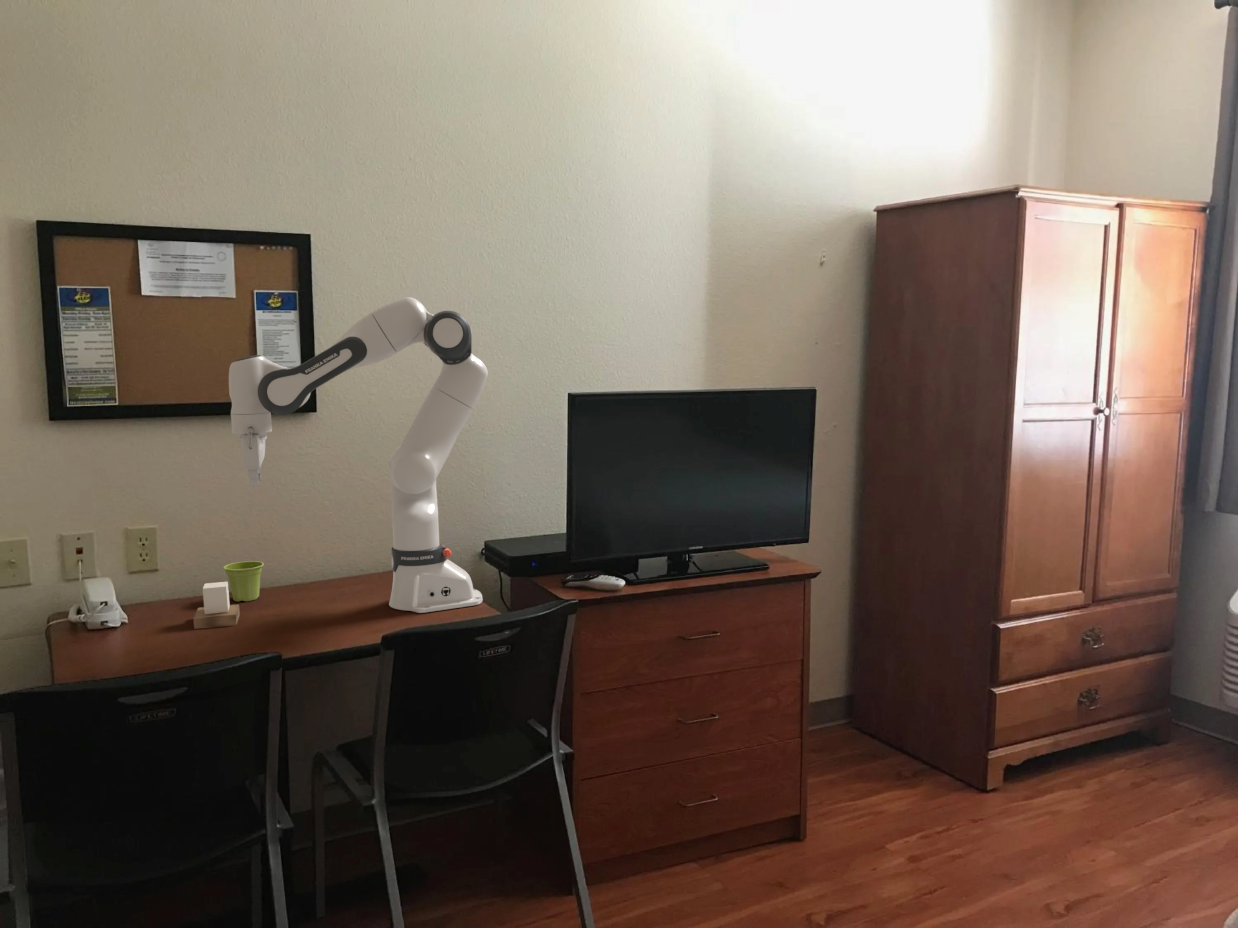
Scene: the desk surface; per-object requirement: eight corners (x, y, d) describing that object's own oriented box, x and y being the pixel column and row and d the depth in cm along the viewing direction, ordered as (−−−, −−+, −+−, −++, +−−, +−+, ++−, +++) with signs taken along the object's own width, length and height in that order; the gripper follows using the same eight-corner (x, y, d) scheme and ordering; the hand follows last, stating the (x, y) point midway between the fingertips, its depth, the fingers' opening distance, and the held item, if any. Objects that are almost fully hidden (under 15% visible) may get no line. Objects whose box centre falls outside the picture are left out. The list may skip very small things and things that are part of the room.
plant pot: (218, 599, 255) (216, 566, 253) (253, 592, 262) (251, 559, 260) (238, 606, 249) (235, 571, 247) (273, 597, 256) (270, 564, 254)
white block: (229, 606, 239) (227, 581, 238) (228, 611, 234) (226, 586, 233) (207, 608, 237) (204, 583, 237) (204, 614, 233) (202, 588, 232)
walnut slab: (239, 616, 241) (238, 604, 241) (236, 627, 233) (235, 614, 232) (199, 620, 239) (198, 607, 238) (194, 631, 230) (193, 618, 230)
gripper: (263, 428, 229) (268, 489, 231) (268, 421, 248) (271, 477, 250) (233, 430, 227) (238, 491, 229) (240, 422, 247) (244, 478, 249)
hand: (255, 483), depth 240 cm, fingers open, 8 cm apart
